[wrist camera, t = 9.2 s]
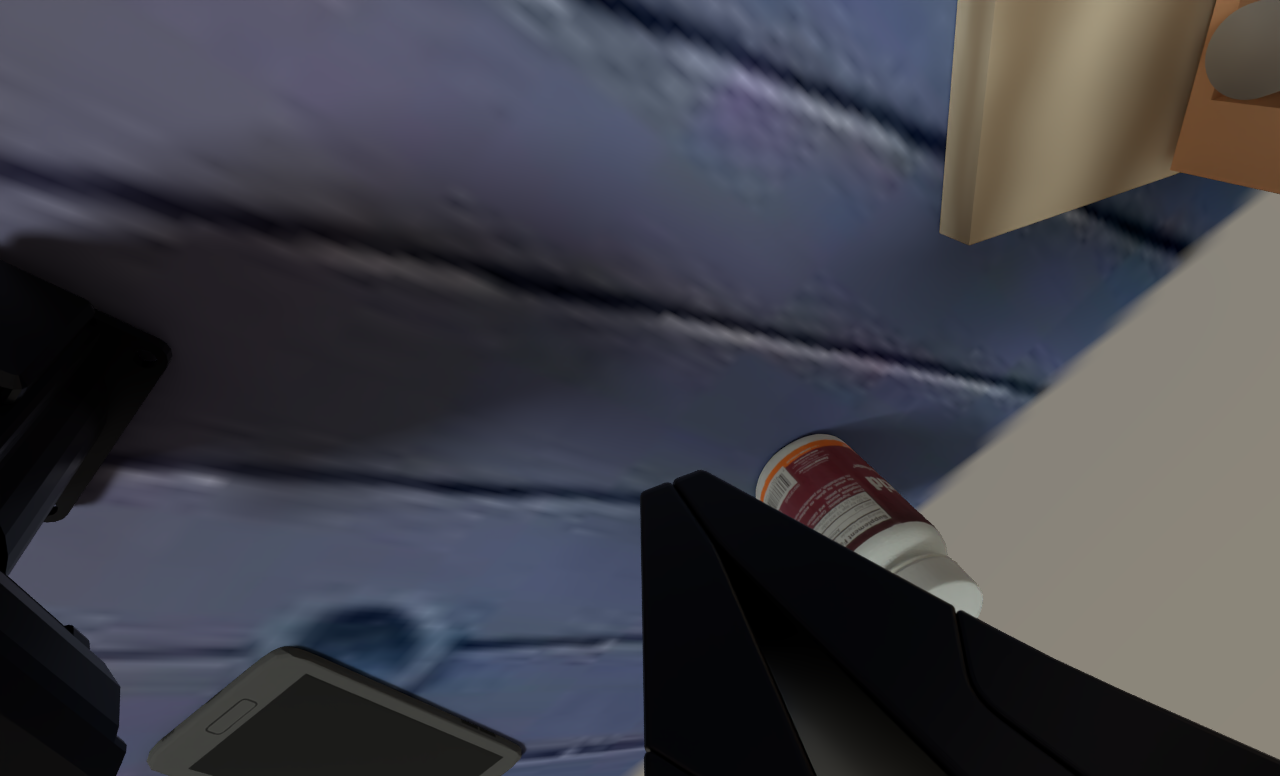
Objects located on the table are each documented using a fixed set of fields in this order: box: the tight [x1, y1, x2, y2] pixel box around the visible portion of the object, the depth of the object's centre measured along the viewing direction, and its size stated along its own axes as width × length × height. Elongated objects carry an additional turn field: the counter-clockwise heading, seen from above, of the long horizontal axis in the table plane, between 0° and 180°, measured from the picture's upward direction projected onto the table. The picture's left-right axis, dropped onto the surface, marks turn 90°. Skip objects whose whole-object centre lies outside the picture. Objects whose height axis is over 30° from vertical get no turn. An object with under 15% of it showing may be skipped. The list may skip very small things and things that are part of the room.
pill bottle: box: [756, 434, 983, 618], centre depth 25 cm, size 5×5×8 cm
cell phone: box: [147, 647, 521, 776], centre depth 28 cm, size 7×14×1 cm, turn 35°
